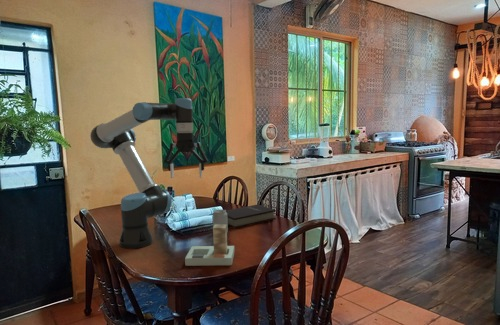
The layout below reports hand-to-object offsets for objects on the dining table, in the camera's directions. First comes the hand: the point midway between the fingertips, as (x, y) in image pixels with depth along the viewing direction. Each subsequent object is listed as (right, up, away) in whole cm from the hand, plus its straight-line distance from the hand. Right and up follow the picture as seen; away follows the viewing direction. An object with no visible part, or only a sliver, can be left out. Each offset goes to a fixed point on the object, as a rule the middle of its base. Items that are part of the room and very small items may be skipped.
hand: (186, 177), depth 163 cm
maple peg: (+18, -33, -18) cm, 42 cm away
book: (+28, -27, +38) cm, 54 cm away
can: (+15, -30, +15) cm, 36 cm away
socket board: (+13, -33, -18) cm, 40 cm away
